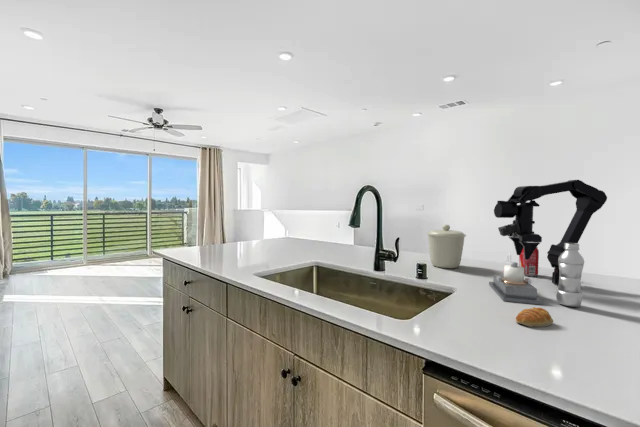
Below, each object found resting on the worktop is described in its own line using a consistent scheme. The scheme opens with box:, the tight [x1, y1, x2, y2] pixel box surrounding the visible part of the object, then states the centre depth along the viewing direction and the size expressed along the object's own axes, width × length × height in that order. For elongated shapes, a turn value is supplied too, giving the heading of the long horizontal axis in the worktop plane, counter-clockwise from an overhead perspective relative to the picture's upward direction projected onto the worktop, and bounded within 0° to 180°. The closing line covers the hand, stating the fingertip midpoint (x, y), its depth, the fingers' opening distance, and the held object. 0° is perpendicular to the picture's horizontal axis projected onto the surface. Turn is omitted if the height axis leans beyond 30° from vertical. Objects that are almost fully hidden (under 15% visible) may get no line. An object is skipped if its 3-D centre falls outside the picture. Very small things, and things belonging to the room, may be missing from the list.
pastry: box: [515, 306, 554, 328], centre depth 81 cm, size 9×7×4 cm
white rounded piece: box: [503, 261, 525, 283], centre depth 106 cm, size 6×6×6 cm
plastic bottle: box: [555, 243, 585, 308], centre depth 94 cm, size 6×7×20 cm
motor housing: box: [488, 274, 543, 306], centre depth 106 cm, size 11×20×6 cm, turn 162°
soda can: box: [518, 246, 540, 278], centre depth 133 cm, size 7×7×13 cm
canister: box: [426, 224, 467, 269], centre depth 149 cm, size 18×18×21 cm
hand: (522, 257), depth 118 cm, fingers open, 9 cm apart
